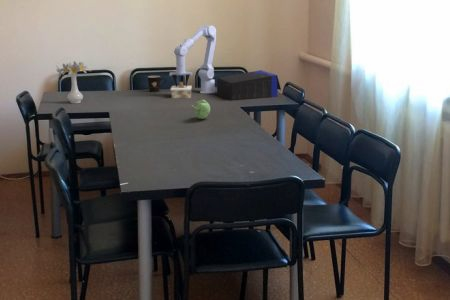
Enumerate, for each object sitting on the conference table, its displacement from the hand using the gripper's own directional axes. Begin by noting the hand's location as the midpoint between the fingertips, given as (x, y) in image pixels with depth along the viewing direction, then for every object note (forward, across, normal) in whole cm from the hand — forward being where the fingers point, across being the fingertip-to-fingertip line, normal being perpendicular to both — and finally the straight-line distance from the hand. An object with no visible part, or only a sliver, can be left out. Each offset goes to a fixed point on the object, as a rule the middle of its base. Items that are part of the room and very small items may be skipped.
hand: (181, 86), depth 372 cm
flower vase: (+7, -65, -18) cm, 68 cm away
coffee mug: (+7, -18, +19) cm, 27 cm away
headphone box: (+7, +44, +2) cm, 44 cm away
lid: (+1, 0, 0) cm, 1 cm away
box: (+6, 0, 0) cm, 6 cm away
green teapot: (+7, +14, -67) cm, 69 cm away
